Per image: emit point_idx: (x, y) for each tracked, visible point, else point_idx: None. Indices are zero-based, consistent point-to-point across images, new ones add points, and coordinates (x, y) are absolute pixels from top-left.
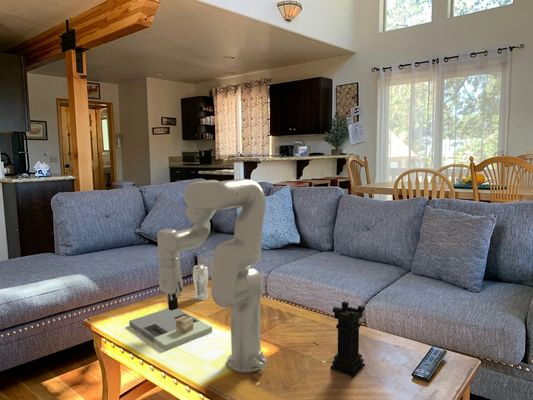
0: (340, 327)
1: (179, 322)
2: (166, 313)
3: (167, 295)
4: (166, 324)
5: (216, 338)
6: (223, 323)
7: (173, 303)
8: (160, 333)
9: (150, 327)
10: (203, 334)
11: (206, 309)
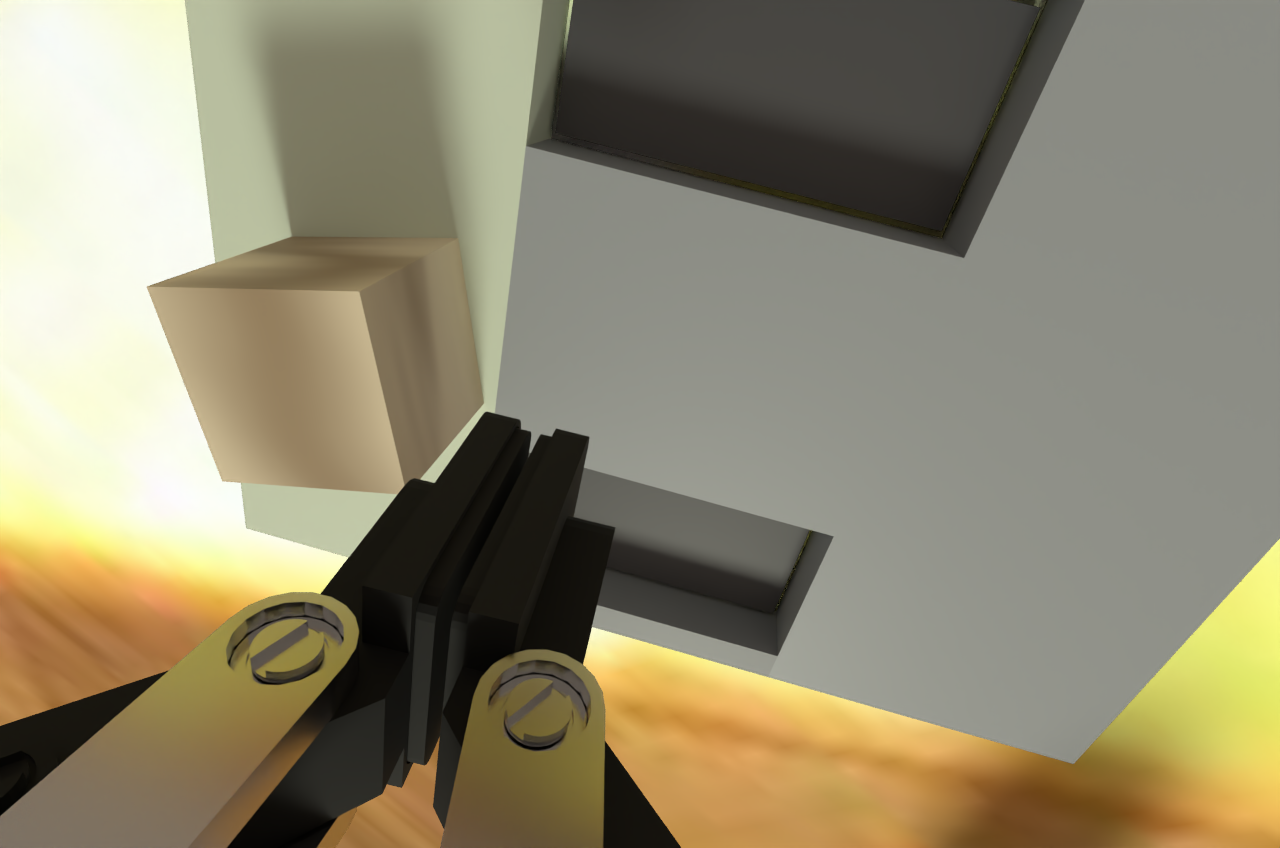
0: None
1: (282, 279)
2: (1032, 594)
3: (519, 802)
4: (763, 333)
5: (137, 410)
6: None
7: (354, 561)
8: (722, 136)
9: (997, 155)
10: None
11: (718, 811)
